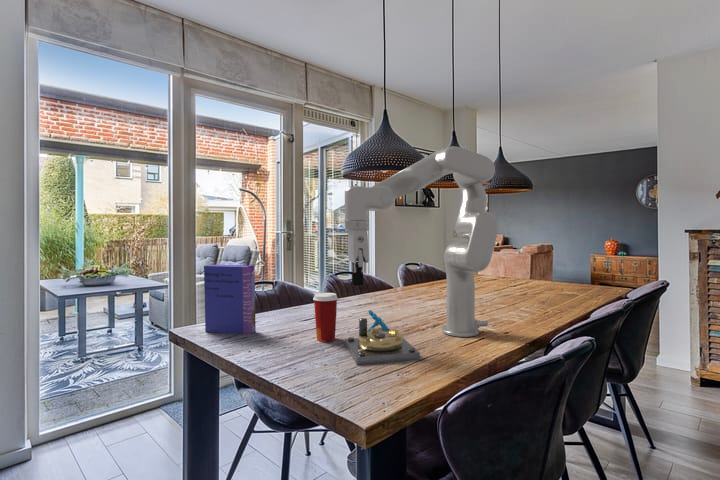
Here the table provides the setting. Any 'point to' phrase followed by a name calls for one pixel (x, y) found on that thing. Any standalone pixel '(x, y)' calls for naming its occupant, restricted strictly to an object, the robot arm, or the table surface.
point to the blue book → (230, 299)
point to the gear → (377, 322)
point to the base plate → (380, 353)
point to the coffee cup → (325, 316)
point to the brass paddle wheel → (378, 338)
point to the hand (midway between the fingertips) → (357, 284)
